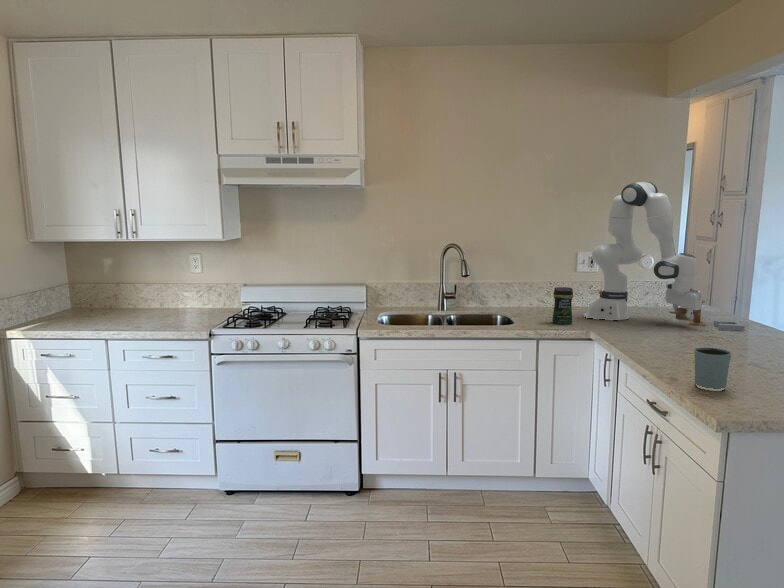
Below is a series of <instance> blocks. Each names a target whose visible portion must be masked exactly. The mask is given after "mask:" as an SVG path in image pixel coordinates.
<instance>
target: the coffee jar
mask: <svg viewBox="0 0 784 588" xmlns="http://www.w3.org/2000/svg"><path fill="white" fill-rule="evenodd" d="M573 290H574V289H573V287H569V286H568V287H567V286H560V287H559V286H557V287H556V286H555V287H554V290H553V298H554V305H553V314H552V323H553V324H555V325H566V324H567V325H572V323H573V310H572V307H573V306H572V301H573V297H574V291H573Z"/></svg>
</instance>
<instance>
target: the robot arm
mask: <svg viewBox="0 0 784 588" xmlns="http://www.w3.org/2000/svg"><path fill="white" fill-rule="evenodd" d="M636 207H643V208H644V209H645V212H646V222H647V226H648V229H649V232H650V233H651V234H653V235H654V236H655V237H656V239H657V240H658V243H659V250H660V256H661V257H660V258H661V259H660V260H659V261H658V262H656V263H655V265H654V267H653V273H654V275H655V277H656V278H658V279H660V280H671V279H674V282H672V283H668V284H666V287H665V288H666V290H665V297H664V299H665V300H664V301H665V303H666V304H667V303H668V304H672V308H673V312H676V309H677V308H679V307H680V306H681V307H685V308H687V310H688V311H687V313H685V317H690V314H691V312H692V311H693V310H700V309H701V310H702V307H703V303H702V300H703V298H702V293H701V292H700V291H699V289H696V274H697V267H698V265H697V258H696V257H695V255H693V254H691V253H685V252H680V253H678V254H676V250H675V249H676V248H675V244H674V238H673V228H674V227H673V225H674V224H673V223H674V222H673V221H674V220H673V219H674V218H673V212H672V211H673V210H672V206H671V202H670V199H669V197H668V195H667V194H665V193H664V192H659V190H658V187H657V186H656V184H655V183H652V182H650V181H637V182H632V183H629V184H627V185H625V187H623V189H622V190H621V193H620V195H617V196H615V197H614V198H613V200H612V202H611V206H610V211H609V217H608V227H607V231H608V233H609V234H610V235H611V236H612V237H614V238H615V240H616V241H615V243H605V244H600V245H597V246H595V247H594V249H593V251H592V253H591V254H592V257H591V258H592V260H593V261H594V263H595V264H596V265H598V266H599V268H600V269H601V271H602V274H603V282H604V283H603V284H604V285H603V287H604V288H603V289H604V290H601V289H600V290H599V291H598V294H599V297H598V298H597V299H596V300H594V301H593V302H591V303H590V304H589V305H588V309H587V311H586V312H584V313H583V315H584V316H583V318H585V317H586V318H585V319H587V318H593V319H592V320H599V319H605V320H604V321H613V320H618V321H622V320H627V319H630V316H629V311H628V299H629V297H628V296H629V293H628V277H627V275H626V273H624V272H622V271H621V270H620V268H619V265H621V266H623V265H633V264H635V263H638V262H639V261H640V260H641V258H642V253H643V251H642V248H641V247H640V245H639V244H637V243H636V241H635V240H634V237H633V233H632V231H633V230H632V229H633V216H634V210H635V208H636Z"/></svg>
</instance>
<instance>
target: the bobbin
mask: <svg viewBox="0 0 784 588" xmlns="http://www.w3.org/2000/svg"><path fill="white" fill-rule="evenodd" d="M705 303H706V300H705V299H702V304H705ZM701 318H702V308H701V309H700V310H694V319H693V320H688V324H689V325H692V326H700V327H701V326H705V325H706V322H705V321H701V320H702V319H701Z"/></svg>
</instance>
